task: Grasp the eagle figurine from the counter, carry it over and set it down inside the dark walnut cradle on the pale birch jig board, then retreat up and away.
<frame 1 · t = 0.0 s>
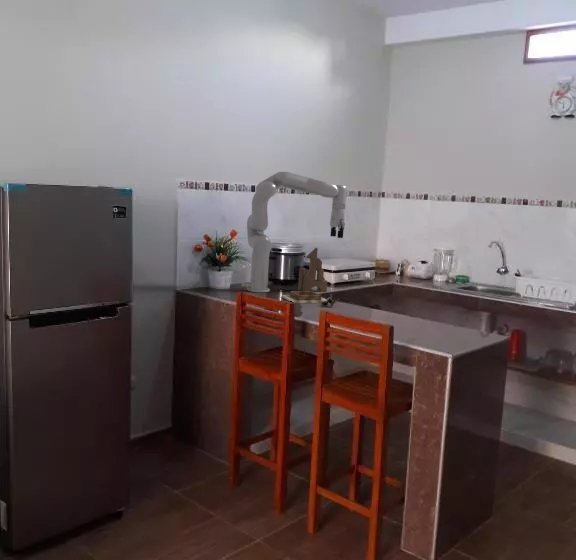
hand: (336, 237, 362), 31 cm above the worktop, fingers open, 9 cm apart
eagle figurine: (329, 306, 319), on the worktop
jig: (305, 299, 331), on the worktop
wooden toy: (312, 291, 362), on the worktop
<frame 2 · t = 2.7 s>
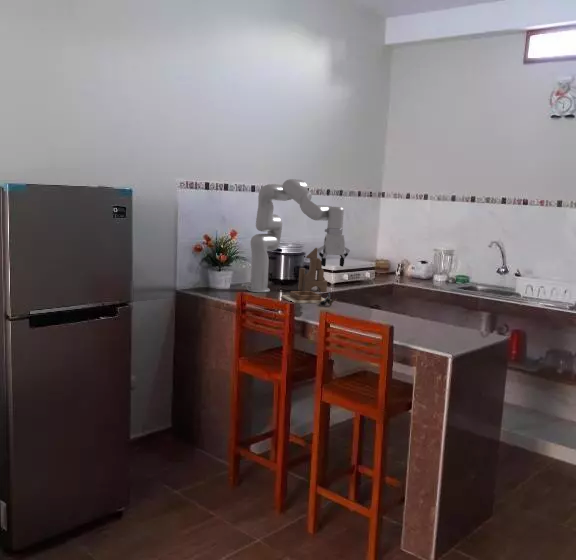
hand: (332, 266, 316), 20 cm above the worktop, fingers open, 9 cm apart
eagle figurine: (327, 305, 320), on the worktop
everything else where it was.
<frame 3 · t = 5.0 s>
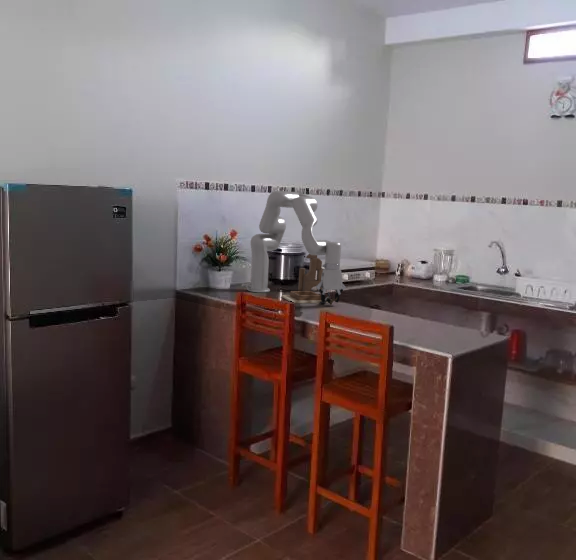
hand: (329, 301, 318), 2 cm above the worktop, fingers closed on eagle figurine, 6 cm apart
eagle figurine: (327, 305, 321), on the worktop, touching gripper
everything else where it was.
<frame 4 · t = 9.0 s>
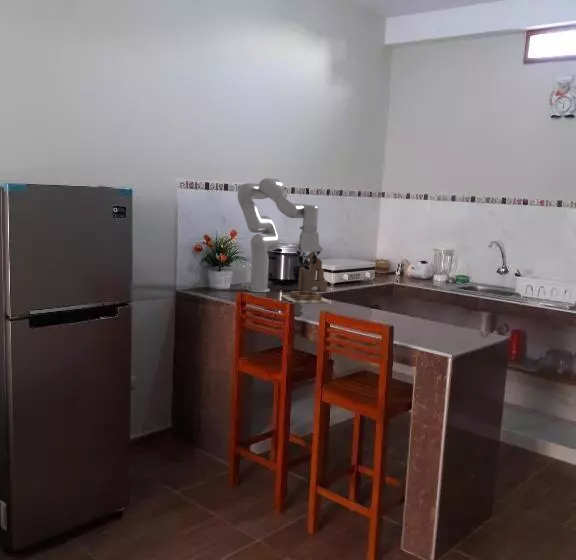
hand: (307, 263, 328), 19 cm above the worktop, fingers closed on eagle figurine, 6 cm apart
eagle figurine: (305, 268, 330), point 17 cm above the worktop, touching gripper
everything else where it was.
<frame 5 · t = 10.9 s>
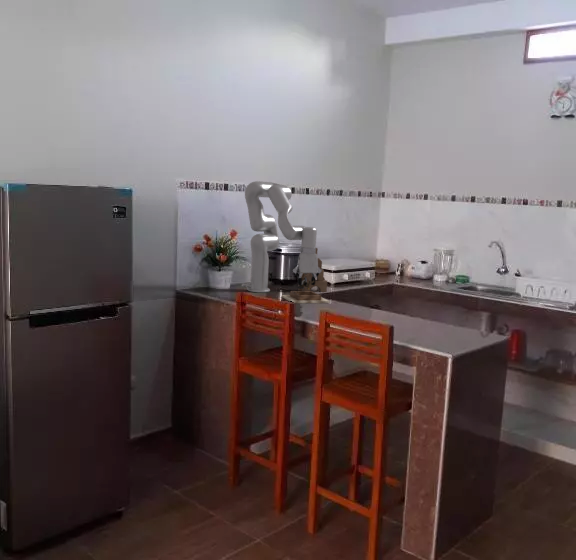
hand: (306, 284, 330), 8 cm above the worktop, fingers closed on eagle figurine, 6 cm apart
eagle figurine: (305, 289, 332), point 5 cm above the worktop, touching gripper
everything else where it was.
when the fingers open (5 cm above the worktop, at t = 12.6 s): eagle figurine moves 1 cm, resting on jig.
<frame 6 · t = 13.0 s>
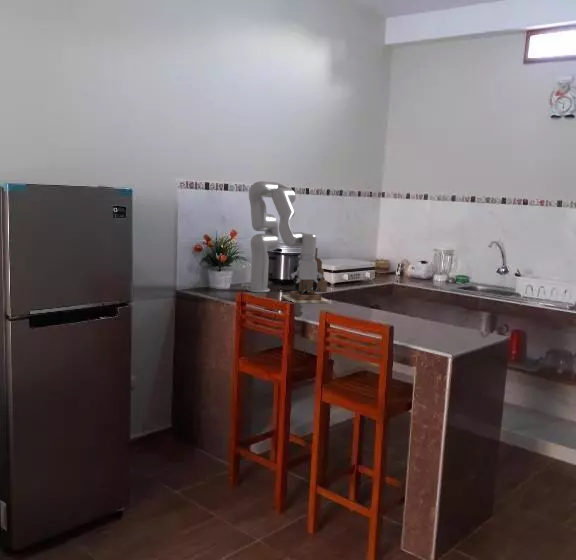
hand: (305, 290, 330), 5 cm above the worktop, fingers open, 9 cm apart
eagle figurine: (304, 295, 333), point 2 cm above the worktop, touching jig
everything else where it was.
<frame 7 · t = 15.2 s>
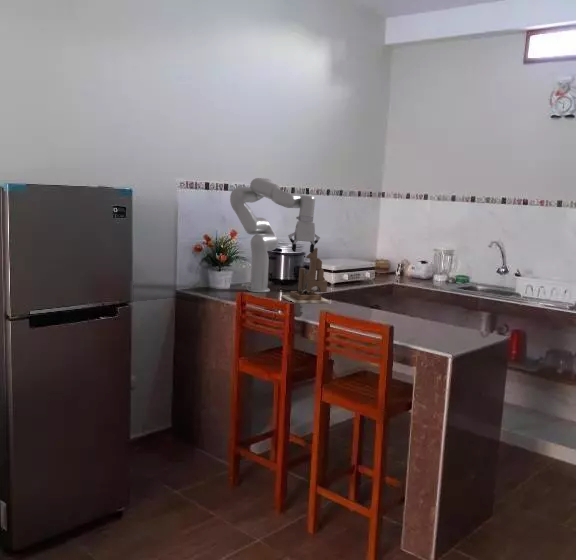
hand: (302, 251, 333), 25 cm above the worktop, fingers open, 9 cm apart
nothing on the worktop moved.
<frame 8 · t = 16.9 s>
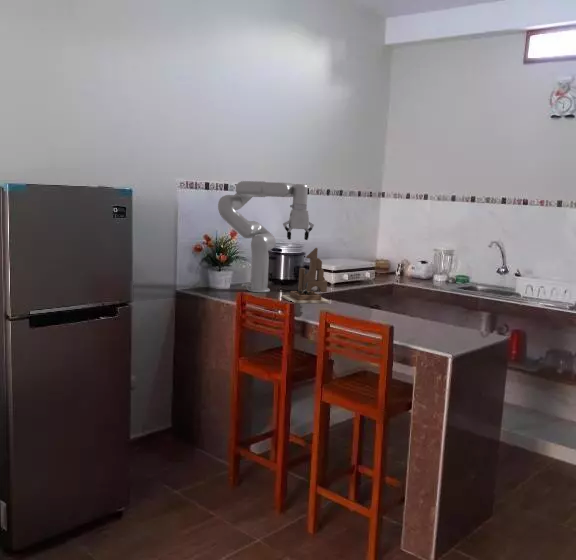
hand: (297, 239, 339), 30 cm above the worktop, fingers open, 9 cm apart
nothing on the worktop moved.
at the end: eagle figurine 2.1 cm off-centre on the jig, point 2.1 cm above the jig's base; eagle figurine tilted 19°; the gripper is holding nothing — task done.
